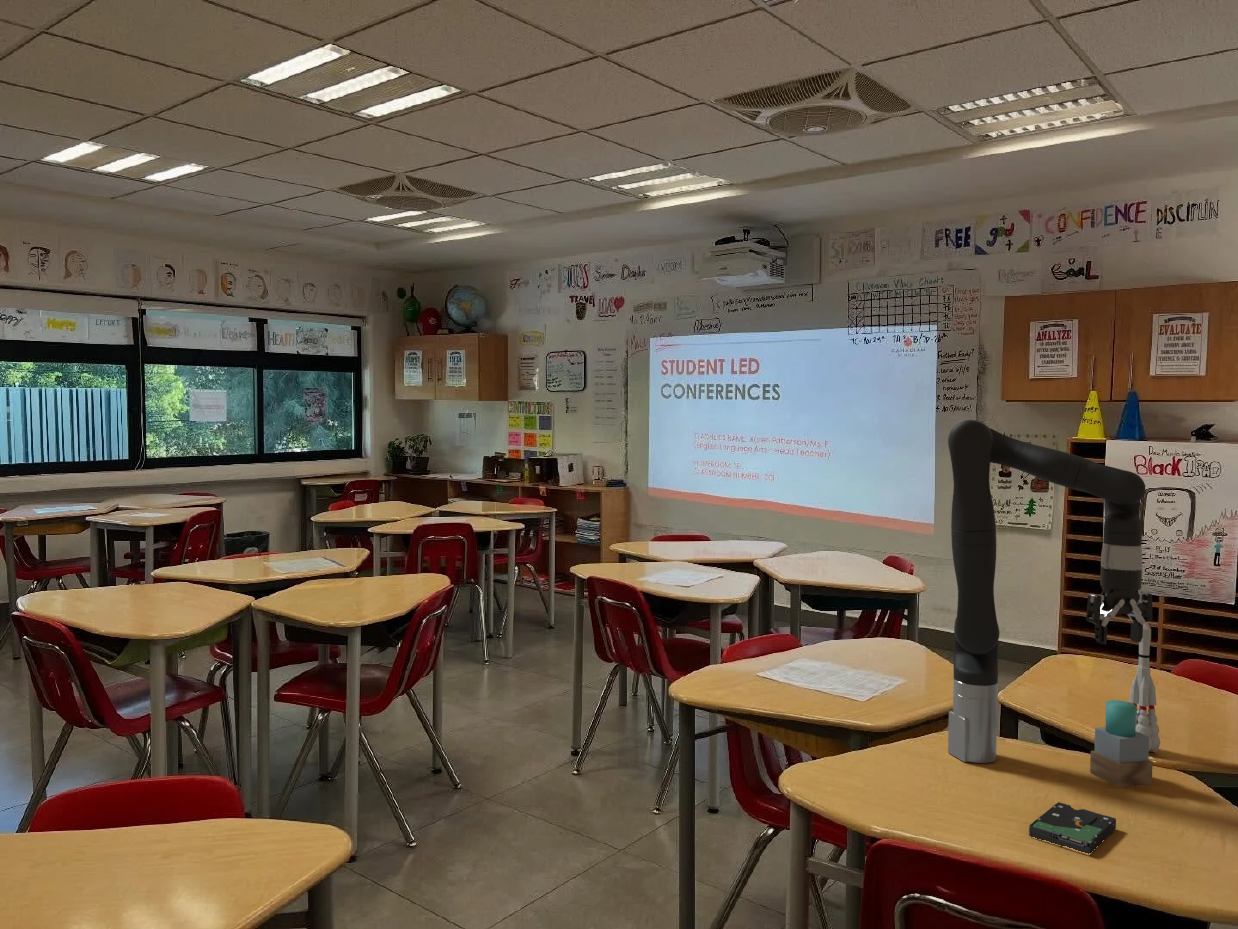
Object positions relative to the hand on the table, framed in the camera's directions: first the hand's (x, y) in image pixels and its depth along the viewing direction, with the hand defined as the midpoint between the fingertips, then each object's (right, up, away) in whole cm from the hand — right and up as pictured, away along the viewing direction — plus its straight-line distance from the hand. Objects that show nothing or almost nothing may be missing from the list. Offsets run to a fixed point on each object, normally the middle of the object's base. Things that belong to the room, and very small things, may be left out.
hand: (1118, 642), depth 187 cm
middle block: (+1, -24, 0) cm, 24 cm away
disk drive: (-23, -30, -25) cm, 46 cm away
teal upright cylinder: (0, -19, 0) cm, 19 cm away
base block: (0, -29, 0) cm, 29 cm away
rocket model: (+15, -28, +17) cm, 36 cm away
